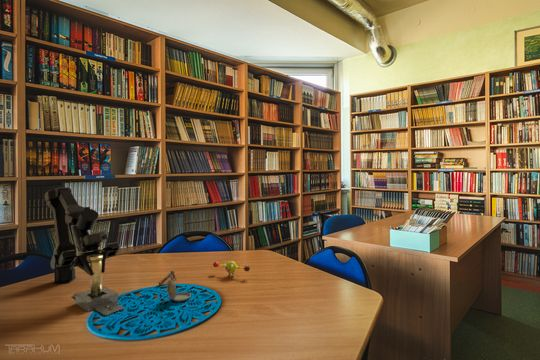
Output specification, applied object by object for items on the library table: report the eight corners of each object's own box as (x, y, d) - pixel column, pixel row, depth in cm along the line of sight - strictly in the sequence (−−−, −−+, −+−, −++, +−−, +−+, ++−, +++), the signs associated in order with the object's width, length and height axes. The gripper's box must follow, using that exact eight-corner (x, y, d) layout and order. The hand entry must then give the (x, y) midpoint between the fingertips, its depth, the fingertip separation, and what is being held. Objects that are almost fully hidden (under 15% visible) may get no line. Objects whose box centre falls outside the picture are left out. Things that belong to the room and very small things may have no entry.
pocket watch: (194, 296, 115) (194, 269, 115) (180, 305, 107) (180, 277, 107) (175, 293, 118) (175, 267, 117) (161, 302, 110) (160, 274, 109)
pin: (86, 296, 108) (85, 257, 108) (96, 291, 112) (95, 254, 112) (97, 297, 107) (96, 258, 107) (106, 292, 111) (105, 254, 111)
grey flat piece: (66, 298, 114) (66, 289, 114) (95, 289, 122) (95, 282, 122) (98, 318, 98) (98, 309, 98) (129, 307, 106) (129, 298, 106)
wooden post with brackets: (179, 277, 132) (175, 269, 131) (164, 290, 126) (160, 282, 125) (176, 277, 133) (172, 268, 132) (161, 289, 127) (157, 281, 126)
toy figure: (209, 275, 137) (209, 260, 137) (216, 271, 142) (216, 257, 142) (246, 280, 131) (246, 265, 130) (252, 276, 136) (252, 261, 135)
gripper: (60, 228, 104) (73, 267, 98) (117, 221, 119) (131, 254, 112) (53, 247, 110) (65, 286, 103) (108, 238, 124) (121, 271, 117)
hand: (97, 273), depth 109 cm, fingers closed on pin, 4 cm apart
